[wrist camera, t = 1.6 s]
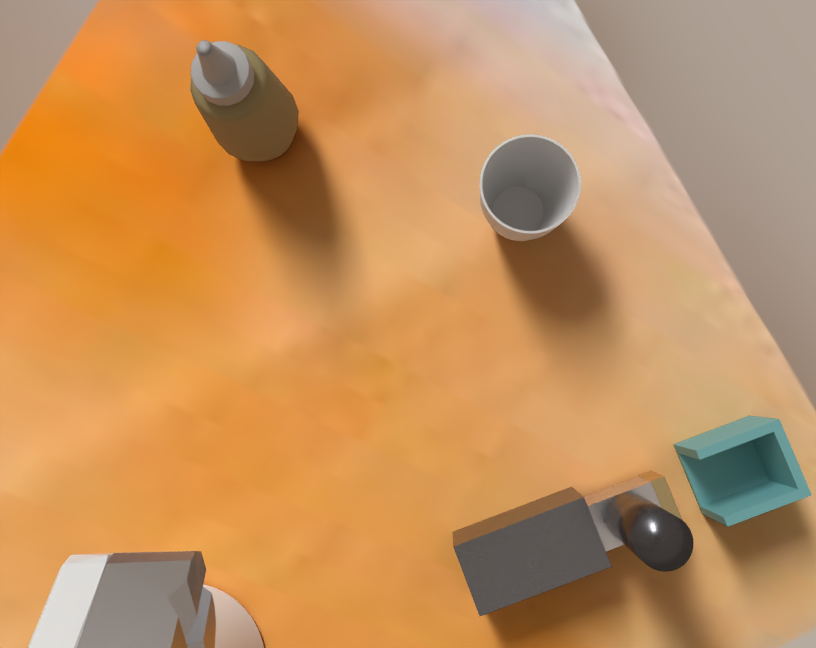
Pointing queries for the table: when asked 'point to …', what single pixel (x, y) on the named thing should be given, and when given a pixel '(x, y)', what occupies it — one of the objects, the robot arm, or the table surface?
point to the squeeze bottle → (242, 101)
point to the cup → (528, 187)
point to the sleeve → (529, 550)
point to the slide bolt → (642, 521)
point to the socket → (742, 469)
